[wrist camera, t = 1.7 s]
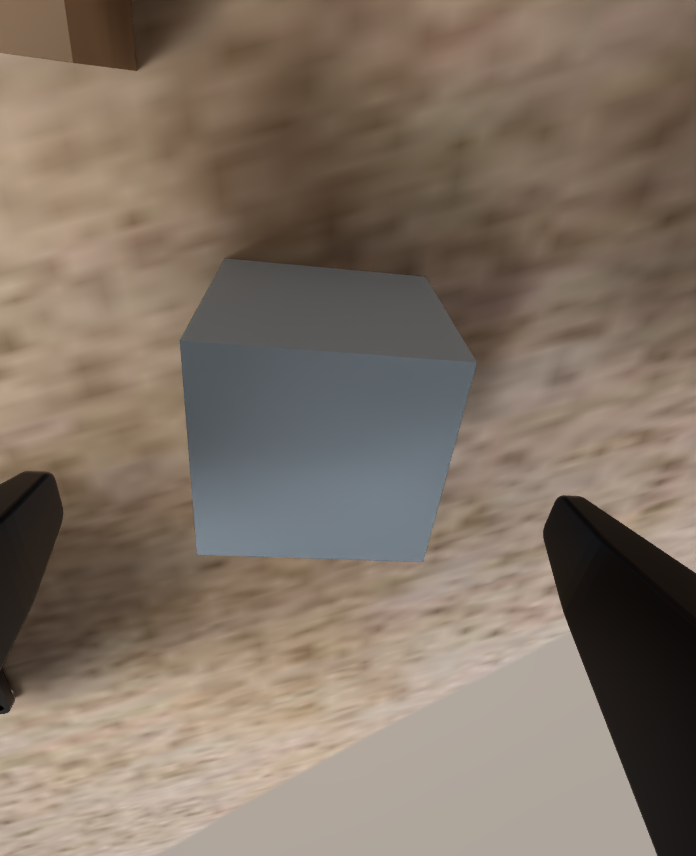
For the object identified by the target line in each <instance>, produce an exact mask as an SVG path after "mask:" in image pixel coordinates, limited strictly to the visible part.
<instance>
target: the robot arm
mask: <svg viewBox="0 0 696 856" xmlns="http://www.w3.org/2000/svg"><path fill="white" fill-rule="evenodd" d="M62 520H63V506H62V502H61V498H60V495H59V491H58V487H57V483H56V480H55V477H54V476H53V474H51V473H49V472H41V471H25V472H22V473H20V474H18V475H16V476H15V477H13V478H11V479H9V480H7V481H6V482H4V483H2V484H0V714H5V713H8V712H9V711H10V709H11V707H12V705H13V703H14V701H15V698H14V696H13V694H12V692H11V690H10V687H9V685H8V683H7V681H6V679H5V676H4V674H3V672H2V670H1V668H2V666H3V664H4V662H5V660H6V658H7V656H8V654H9V652H10V650H11V648H12V646H13V644H14V642H15V640H16V638H17V636H18V634H19V632H20V629H21V627H22V625H23V623H24V621H25V619H26V617H27V615H28V613H29V611H30V608H31V606H32V604H33V602H34V599H35V597H36V594H37V592H38V589H39V586H40V583H41V580H42V578H43V575H44V572H45V569H46V566H47V563H48V561H49V558H50V555H51V552H52V549H53V546H54V543H55V541H56V538H57V535H58V532H59V529H60V526H61V524H62ZM543 538H544V543H545V546H546V550H547V554H548V557H549V561H550V565H551V569H552V572H553V576H554V580H555V584H556V587H557V591H558V595H559V598H560V602H561V605H562V609H563V612H564V615H565V618H566V620H567V623H568V626H569V628H570V631H571V634H572V636H573V639H574V641H575V644H576V646H577V649H578V652H579V654H580V657H581V659H582V662H583V665H584V667H585V670H586V672H587V675H588V677H589V680H590V683H591V685H592V687H593V690H594V693H595V695H596V698H597V701H598V703H599V706H600V709H601V711H602V714H603V716H604V719H605V721H606V724H607V727H608V729H609V732H610V734H611V737H612V739H613V742H614V745H615V747H616V750H617V752H618V755H619V758H620V760H621V763H622V765H623V768H624V770H625V773H626V776H627V778H628V781H629V783H630V786H631V788H632V791H633V794H634V796H635V799H636V802H637V804H638V807H639V809H640V812H641V814H642V817H643V819H644V822H645V825H646V827H647V830H648V833H649V835H650V837H651V840H652V843H653V845H654V848H655V851H656V853H657V856H696V573H695V572H693V571H692V570H690V569H689V568H687V567H686V566H684V565H683V564H681V563H680V562H678V561H677V560H675V559H674V558H672V557H671V556H669V555H668V554H666V553H665V552H663V551H662V550H660V549H659V548H657V547H656V546H655V545H653V544H652V543H650V542H649V541H647V540H646V539H644V538H643V537H641V536H640V535H638V534H637V533H635V532H634V531H632V530H631V529H629V528H628V527H626V526H625V525H623V524H622V523H620V522H619V521H617V520H616V519H614V518H613V517H612V516H610V515H609V514H607V513H606V512H604V511H603V510H601V509H600V508H598V507H597V506H595V505H594V504H592V503H591V502H589V501H588V500H586V499H585V498H583V497H580V496H566V495H563V496H559V497H558V498H557V499H556V501H555V503H554V505H553V507H552V510H551V512H550V514H549V517H548V519H547V521H546V523H545V526H544V530H543Z"/></svg>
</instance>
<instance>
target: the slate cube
mask: <svg viewBox="0 0 696 856" xmlns="http://www.w3.org/2000/svg"><path fill="white" fill-rule="evenodd" d="M180 349H181V362H182V374H183V387H184V399H185V412H186V424H187V437H188V449H189V462H190V474H191V487H192V499H193V512H194V524H195V537H196V549H197V555H219V556H250V557H281V558H311V559H342V560H373V561H403V562H423V561H424V557H425V553H426V550H427V546H428V542H429V539H430V535H431V531H432V528H433V524H434V520H435V516H436V513H437V509H438V505H439V502H440V498H441V494H442V491H443V487H444V483H445V479H446V476H447V472H448V468H449V465H450V461H451V457H452V454H453V450H454V446H455V442H456V439H457V435H458V431H459V428H460V424H461V420H462V417H463V413H464V409H465V405H466V402H467V398H468V394H469V391H470V387H471V383H472V380H473V376H474V372H475V369H476V365H477V362H476V360H475V358H474V357H473V355H472V353H471V352H470V350H469V348H468V347H467V345H466V343H465V342H464V340H463V338H462V337H461V335H460V333H459V332H458V330H457V328H456V327H455V325H454V323H453V322H452V320H451V318H450V317H449V315H448V313H447V312H446V310H445V308H444V307H443V305H442V303H441V302H440V300H439V298H438V297H437V295H436V293H435V292H434V290H433V288H432V287H431V285H430V283H429V282H428V280H427V278H426V277H424V276H413V275H402V274H391V273H380V272H369V271H358V270H347V269H337V268H326V267H315V266H304V265H293V264H282V263H271V262H260V261H249V260H238V259H227V258H225V259H224V261H223V262H222V264H221V266H220V268H219V270H218V272H217V273H216V275H215V277H214V279H213V281H212V283H211V284H210V286H209V288H208V290H207V292H206V293H205V295H204V297H203V299H202V301H201V303H200V304H199V306H198V308H197V310H196V312H195V313H194V315H193V317H192V319H191V321H190V323H189V324H188V326H187V328H186V330H185V332H184V334H183V335H182V337H181V339H180Z"/></svg>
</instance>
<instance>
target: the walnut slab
mask: <svg viewBox="0 0 696 856" xmlns="http://www.w3.org/2000/svg"><path fill="white" fill-rule="evenodd" d="M0 53H6V54H13V55H21V56H28V57H35V58H42V59H49V60H57V61H64V62H71V63H79V64H87V65H95V66H103V67H111V68H119V69H127V70H135V71H137V65H136V54H135V42H134V31H133V20H132V9H131V0H0Z"/></svg>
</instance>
